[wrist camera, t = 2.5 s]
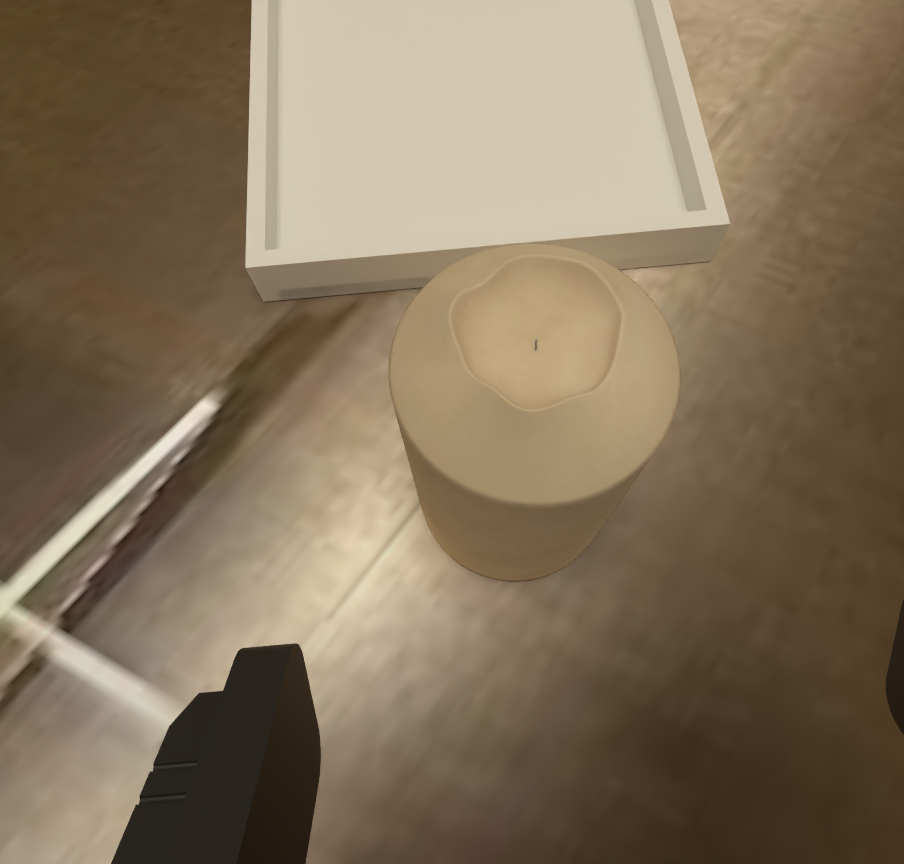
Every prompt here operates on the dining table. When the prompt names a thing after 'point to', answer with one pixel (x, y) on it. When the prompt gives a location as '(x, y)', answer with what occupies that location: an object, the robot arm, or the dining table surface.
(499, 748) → the dining table surface
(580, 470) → the candle
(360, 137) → the tray
